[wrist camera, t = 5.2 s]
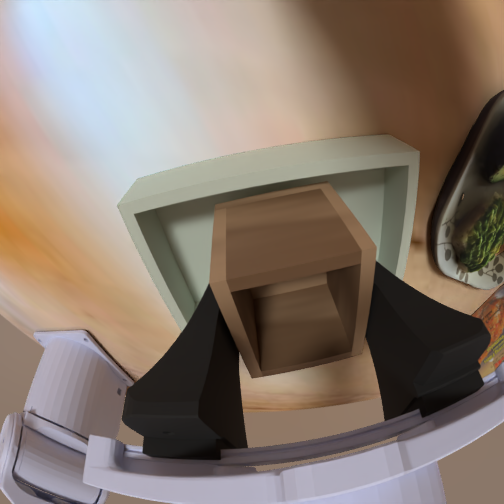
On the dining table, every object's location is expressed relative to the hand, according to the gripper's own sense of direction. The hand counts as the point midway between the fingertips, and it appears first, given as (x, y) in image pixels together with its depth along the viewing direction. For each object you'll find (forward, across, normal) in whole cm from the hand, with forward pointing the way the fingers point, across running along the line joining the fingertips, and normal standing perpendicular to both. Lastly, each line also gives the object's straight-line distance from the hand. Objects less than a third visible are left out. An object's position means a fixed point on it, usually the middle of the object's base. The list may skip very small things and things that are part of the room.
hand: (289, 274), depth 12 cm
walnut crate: (+2, 0, 0) cm, 2 cm away
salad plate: (+4, -19, 0) cm, 20 cm away
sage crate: (+4, 0, 0) cm, 4 cm away
